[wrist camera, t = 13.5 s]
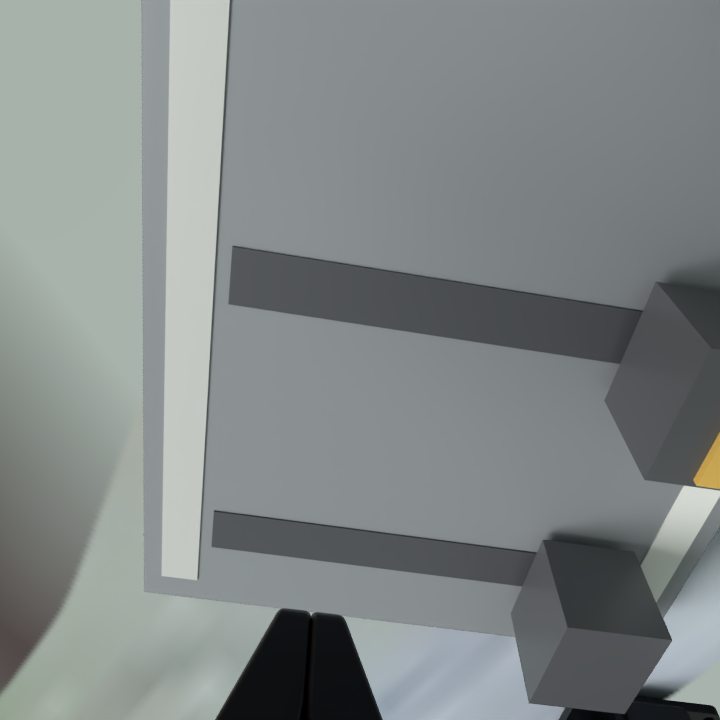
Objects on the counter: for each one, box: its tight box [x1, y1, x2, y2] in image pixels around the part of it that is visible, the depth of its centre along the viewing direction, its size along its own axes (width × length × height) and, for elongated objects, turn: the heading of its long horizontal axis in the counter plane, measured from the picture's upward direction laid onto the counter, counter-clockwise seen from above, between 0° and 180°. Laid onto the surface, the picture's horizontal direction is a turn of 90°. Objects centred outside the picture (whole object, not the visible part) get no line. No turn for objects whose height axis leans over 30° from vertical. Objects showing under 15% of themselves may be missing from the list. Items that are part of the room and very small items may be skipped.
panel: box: [141, 0, 720, 714], centre depth 17 cm, size 25×18×6 cm
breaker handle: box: [604, 282, 720, 491], centre depth 16 cm, size 4×3×3 cm
